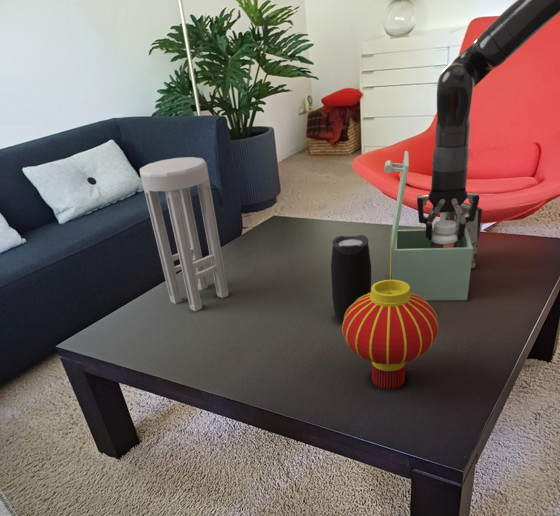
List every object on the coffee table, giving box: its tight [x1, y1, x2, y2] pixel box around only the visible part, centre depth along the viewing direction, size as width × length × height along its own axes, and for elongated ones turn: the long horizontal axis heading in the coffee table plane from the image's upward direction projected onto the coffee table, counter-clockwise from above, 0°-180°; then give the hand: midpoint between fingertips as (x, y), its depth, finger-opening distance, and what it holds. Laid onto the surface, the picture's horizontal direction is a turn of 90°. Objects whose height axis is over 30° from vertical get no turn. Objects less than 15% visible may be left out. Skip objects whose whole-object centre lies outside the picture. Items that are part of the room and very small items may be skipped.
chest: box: [391, 228, 473, 301], centre depth 130 cm, size 18×14×13 cm
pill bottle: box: [431, 220, 458, 248], centre depth 126 cm, size 6×6×11 cm
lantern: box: [341, 231, 439, 390], centre depth 94 cm, size 17×17×30 cm
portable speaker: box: [330, 234, 372, 325], centre depth 119 cm, size 9×9×20 cm
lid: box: [383, 150, 410, 250], centre depth 122 cm, size 19×14×5 cm
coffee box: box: [439, 202, 483, 269], centre depth 139 cm, size 9×6×16 cm
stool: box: [139, 156, 230, 312], centre depth 132 cm, size 16×16×35 cm
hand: (444, 238), depth 125 cm, fingers closed on pill bottle, 6 cm apart
